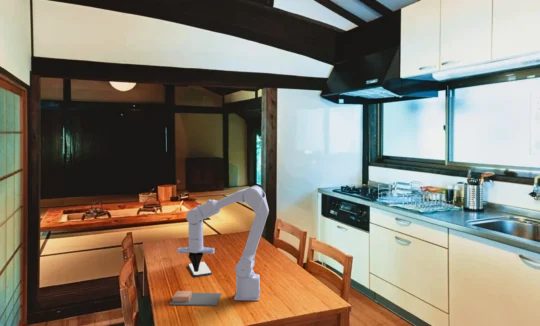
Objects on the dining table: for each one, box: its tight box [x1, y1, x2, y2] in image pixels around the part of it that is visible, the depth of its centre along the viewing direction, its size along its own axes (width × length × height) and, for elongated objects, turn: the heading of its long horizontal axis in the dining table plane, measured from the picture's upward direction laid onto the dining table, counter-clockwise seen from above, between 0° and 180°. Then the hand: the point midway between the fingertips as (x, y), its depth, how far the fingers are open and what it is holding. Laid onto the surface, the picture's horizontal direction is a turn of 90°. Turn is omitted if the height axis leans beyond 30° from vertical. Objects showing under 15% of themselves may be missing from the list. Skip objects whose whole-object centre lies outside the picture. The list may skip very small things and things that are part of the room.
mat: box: [169, 292, 222, 307], centre depth 141 cm, size 18×10×1 cm, turn 88°
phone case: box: [187, 261, 213, 278], centre depth 172 cm, size 9×2×16 cm
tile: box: [172, 290, 193, 302], centre depth 141 cm, size 2×5×6 cm
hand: (196, 270), depth 146 cm, fingers closed
